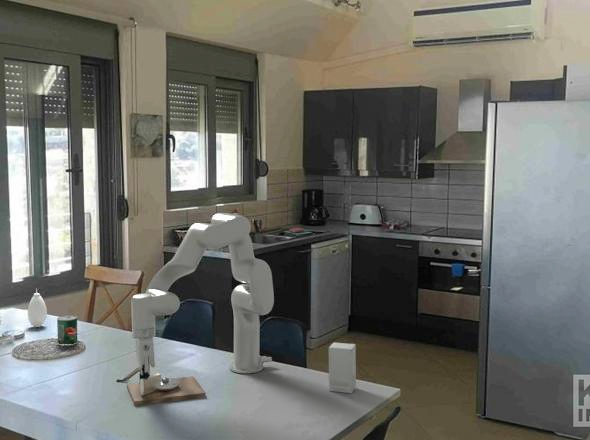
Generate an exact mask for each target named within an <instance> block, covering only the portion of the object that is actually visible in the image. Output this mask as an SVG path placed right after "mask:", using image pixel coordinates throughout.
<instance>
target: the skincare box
mask: <svg viewBox="0 0 590 440" xmlns="http://www.w3.org/2000/svg"><path fill="white" fill-rule="evenodd" d="M356 345H357V344H356V343H344V342H343V343H342V342H333V343H331V344H330V345H329V346H328V391H329V392H336V393H346V394H352V393H353V392H354V390H355V389H356V388H357V380H356V379H357V368H356V367H357V366H356V365H357V363H356V362H357V359H356V358H357V357H356V349H357V347H356Z"/></svg>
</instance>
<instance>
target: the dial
mask: <svg viewBox="0 0 590 440" xmlns="http://www.w3.org/2000/svg"><path fill="white" fill-rule="evenodd" d="M139 382H140V394H142V395H146V394H148V393H151V392H154V391H170V390H174V389H176V388H178V387H179V381H178V380H177V379H175V378H174V377H162V374H161V373H158V372H157V373H155V374H152V375H151V374H150V376H148V377H145V378H142V379H140V378H139Z"/></svg>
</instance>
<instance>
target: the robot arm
mask: <svg viewBox="0 0 590 440" xmlns="http://www.w3.org/2000/svg"><path fill="white" fill-rule="evenodd" d="M251 227H252V225H251V221H250V220H249V219H248V218H247V217H246V216H244V215H241V214H240V215H239V214H235V213H227V212H218V213H215V214H214V215H213V216H212V217H211V220H210V223H203V222H195V223H194V224H192V225H191V226H190V227H189V228H188V230H187V232H186V233H185V235H184V237H183V239H182V241H181V243H180V244H179V247H178V248H177V250H176V252H175V254H174V255H173V257H172V258H171V260H169V261H168V262H167V263H166V264H165V265H164V266H162V267H161V268H160V269H159V270H158V271H157V272H156V274H154V276H153V277H152V279H151V280H150V282H149V284H148V287H146V290H145V293H137V294H134V295H133V296H132V297H131V301H130V302H131V303H130V304H131V305H130V307H131V338H132V339H135V356H136V357H135V359H136V363H137V365H138V367H140V371H139V380H140V379H142V378H145V377H148V376H151V374H150V372H151V371H150V370H151V369H150V367H151V368H155V367H156V364H155V363H156V361H155V347H154V338H155V337H156V316H170V315H172V314H174V313H176V312H177V311H179V308H180V305H181V301H180V298H179V297H178V296H177V295H176V294H175V293H173V292H172V291H171V292H170V291H168V290H169V289H170V287H171V286H172V284H174V282H176V281H177V280H179V279H180V278H182V277H184V276H187V275H189V274H191V273H194V272H195V271H196V270H197V268H198V265H199V263H200V261H201V260H202V258H203V257H204V255H205V252H206V251H207V250H212V251H215V250H219V249H222V248H225V247H228V248H229V249H228V250H229V256H230V257H229V258H230V265H231V266H230V267H231V273H232V276H233V278H234V280H236V281H238V282H240V283H242V284H239V285H237V286H236V287H234V289H233V290H232V291H231V292H232V293H231V298H230V299H231V302H230V303H231V306H232V311H233V362H231V363H230V364H229V370H230V371H231V372H234V373H238V374H255V373H259V372H261V371H262V370H263V369H264V363H271V362H272V361H273V358H272V357H271V356H267V355H263V356H262V355H260V329H261V328H260V327H261V324H260V317H259V316H264V315H268V314H269V313H270V312H271V311H272V309H273V308H274V307H273V306H274V303H275V296H274V294H275V293H274V284H273V274H272V270H271V268H270V265H269V264H268V263H267V262H266V261H265V260H263V259H260V258H256V257H255V254H254V247H253V241H252V238H251V236H250V232H251V230H252V229H251Z"/></svg>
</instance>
